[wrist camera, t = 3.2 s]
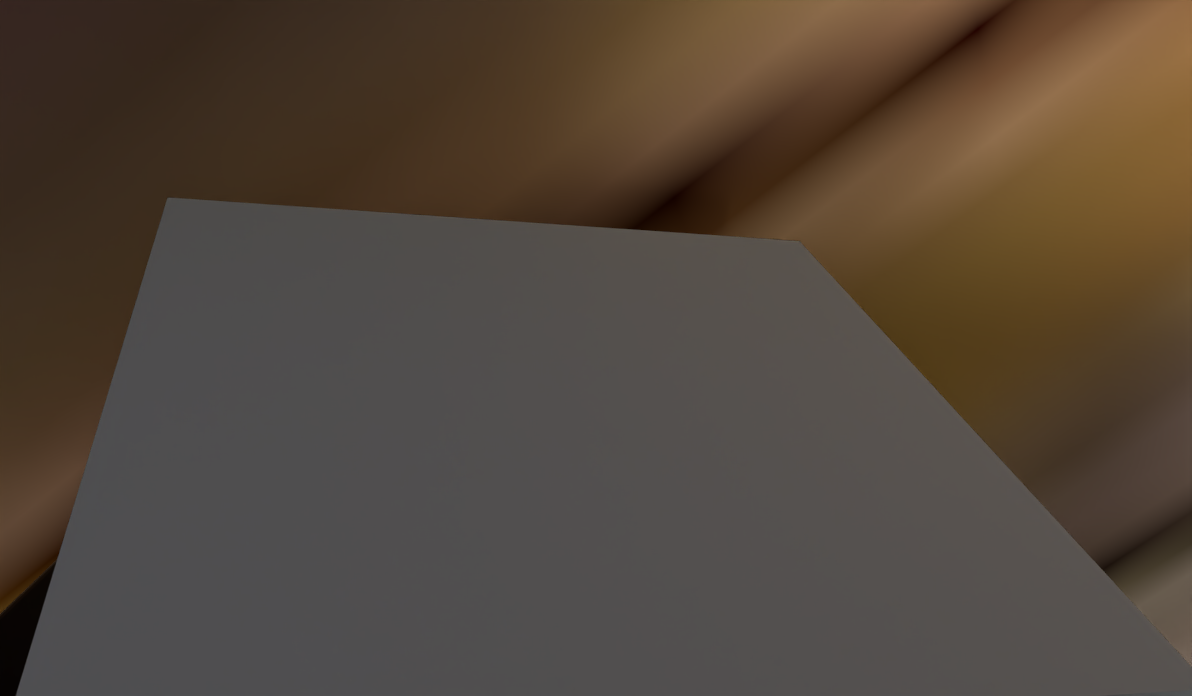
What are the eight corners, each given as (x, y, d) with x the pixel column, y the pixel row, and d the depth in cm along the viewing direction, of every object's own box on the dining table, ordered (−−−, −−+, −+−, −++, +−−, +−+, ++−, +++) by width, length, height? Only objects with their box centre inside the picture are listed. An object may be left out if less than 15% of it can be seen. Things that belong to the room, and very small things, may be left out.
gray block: (800, 241, 9) (1209, 688, 5) (680, 672, 11) (891, 1226, 7) (167, 198, 8) (-3, 763, 4) (178, 696, 10) (82, 1394, 6)
